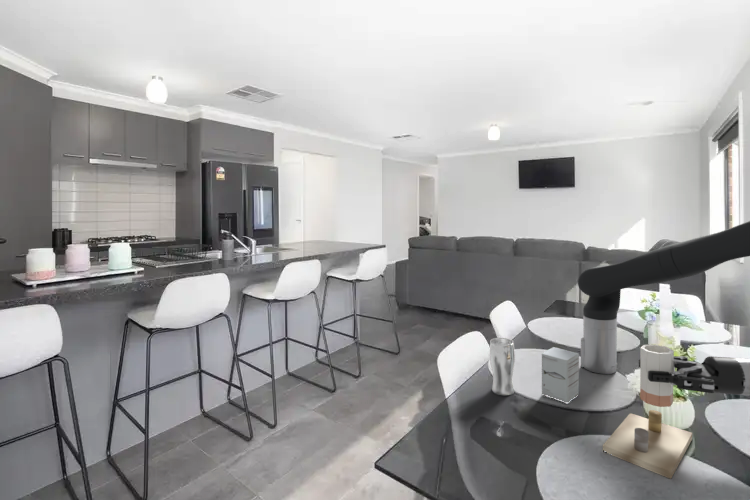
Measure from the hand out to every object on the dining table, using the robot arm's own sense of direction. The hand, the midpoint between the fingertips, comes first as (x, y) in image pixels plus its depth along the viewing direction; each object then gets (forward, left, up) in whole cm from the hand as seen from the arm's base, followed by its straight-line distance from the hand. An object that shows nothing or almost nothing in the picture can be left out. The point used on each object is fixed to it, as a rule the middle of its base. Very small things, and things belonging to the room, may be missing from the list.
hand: (643, 369), depth 87 cm
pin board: (+2, -4, -15) cm, 16 cm away
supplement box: (-21, +5, -16) cm, 27 cm away
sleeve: (+2, +1, -7) cm, 7 cm away
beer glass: (-34, -3, -16) cm, 38 cm away
